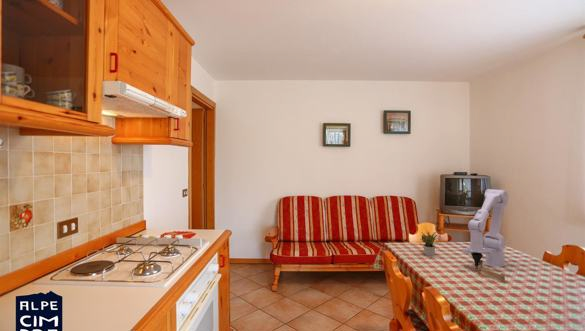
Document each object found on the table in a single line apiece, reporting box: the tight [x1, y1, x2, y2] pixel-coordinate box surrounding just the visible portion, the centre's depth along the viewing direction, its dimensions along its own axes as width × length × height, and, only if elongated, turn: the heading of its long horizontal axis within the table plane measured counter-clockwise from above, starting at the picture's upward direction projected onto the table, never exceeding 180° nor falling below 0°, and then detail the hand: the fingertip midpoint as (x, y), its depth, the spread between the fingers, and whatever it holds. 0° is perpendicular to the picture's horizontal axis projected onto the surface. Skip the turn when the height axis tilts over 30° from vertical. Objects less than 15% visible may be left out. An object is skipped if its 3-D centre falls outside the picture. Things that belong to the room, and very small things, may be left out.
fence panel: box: [478, 259, 483, 268], centre depth 151 cm, size 11×2×4 cm, turn 142°
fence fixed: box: [477, 266, 506, 284], centre depth 140 cm, size 2×13×4 cm, turn 23°
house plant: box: [420, 230, 443, 258], centre depth 177 cm, size 14×14×16 cm
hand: (476, 266), depth 153 cm, fingers closed, pressing on fence panel
